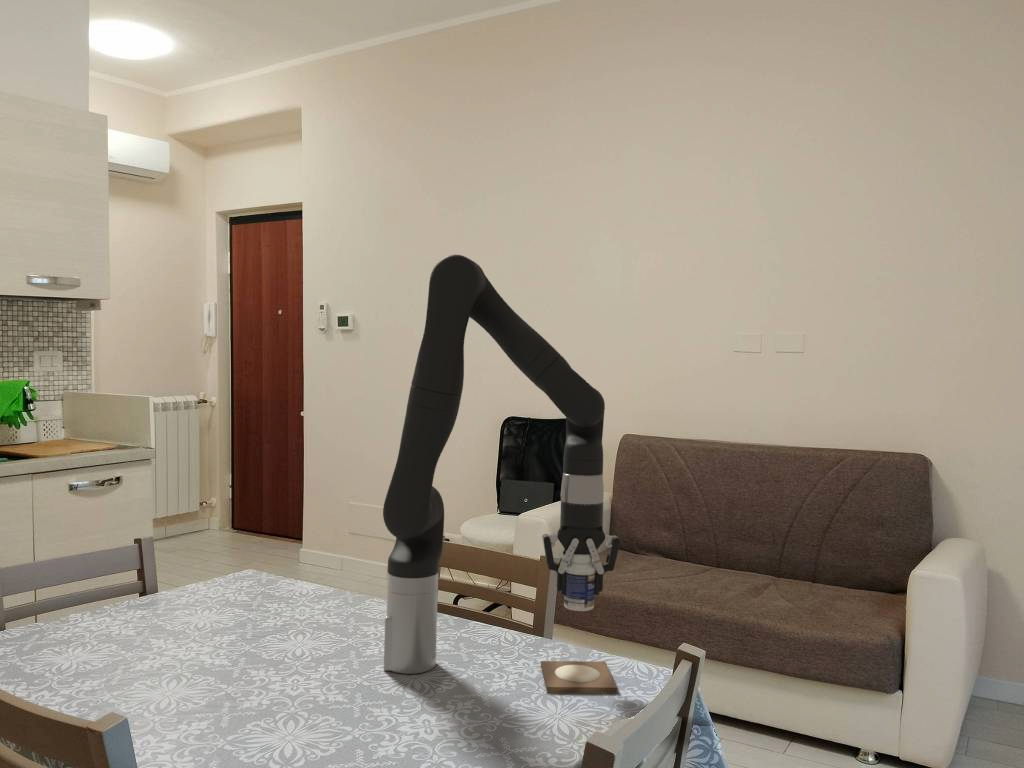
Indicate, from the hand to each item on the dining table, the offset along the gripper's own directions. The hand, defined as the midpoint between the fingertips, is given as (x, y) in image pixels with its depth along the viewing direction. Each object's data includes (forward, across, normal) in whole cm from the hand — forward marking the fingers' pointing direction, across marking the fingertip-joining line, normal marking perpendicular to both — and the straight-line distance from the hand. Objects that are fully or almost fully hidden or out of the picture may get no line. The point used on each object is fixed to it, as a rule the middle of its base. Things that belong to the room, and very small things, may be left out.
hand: (579, 593), depth 142 cm
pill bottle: (+3, 0, 0) cm, 3 cm away
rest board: (+15, 0, 0) cm, 15 cm away
